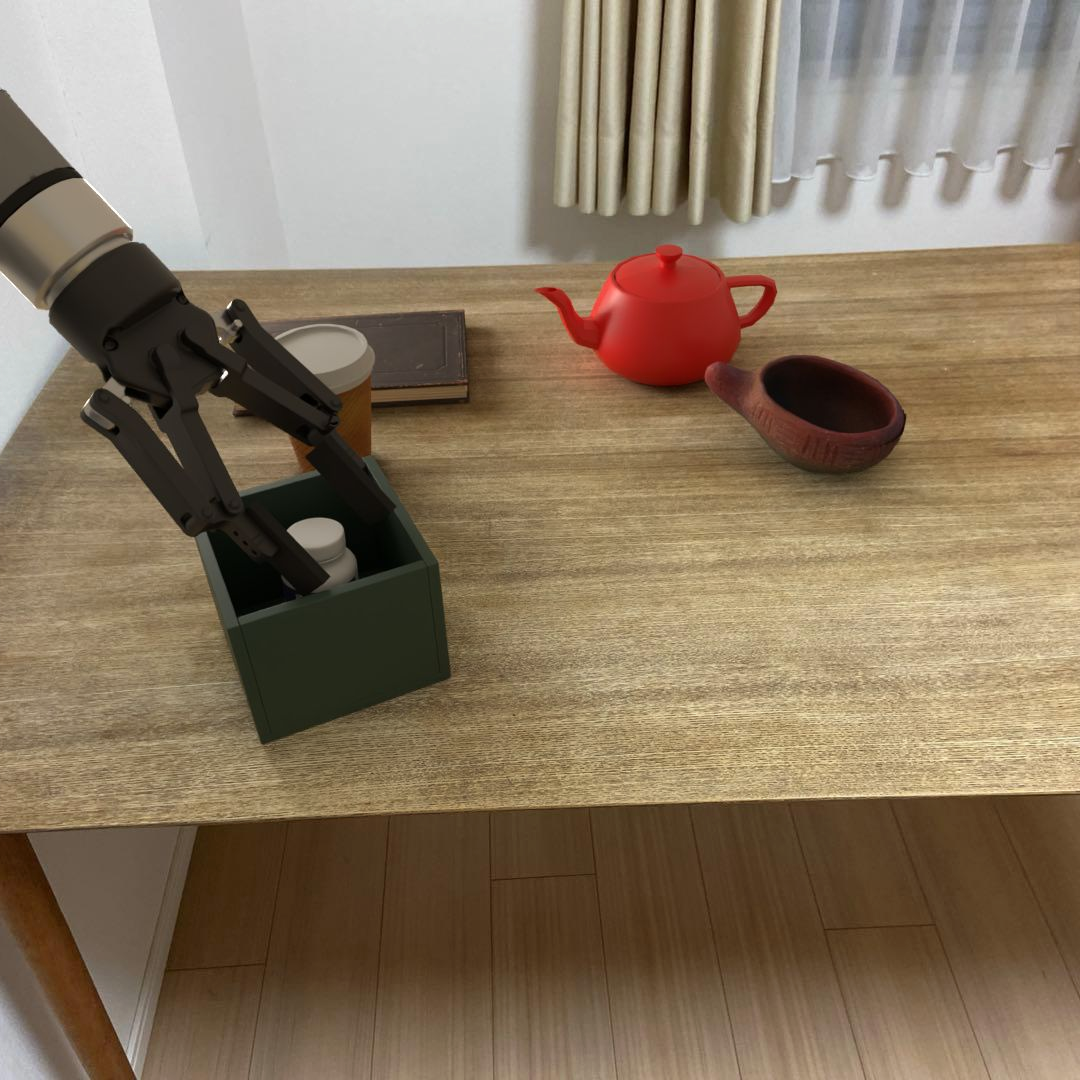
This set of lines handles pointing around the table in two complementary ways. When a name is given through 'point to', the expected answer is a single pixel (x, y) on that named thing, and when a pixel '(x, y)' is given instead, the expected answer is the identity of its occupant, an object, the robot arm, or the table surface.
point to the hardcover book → (403, 354)
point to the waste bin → (329, 612)
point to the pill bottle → (323, 553)
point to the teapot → (663, 317)
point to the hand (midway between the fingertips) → (351, 550)
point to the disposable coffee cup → (337, 379)
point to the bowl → (814, 411)
